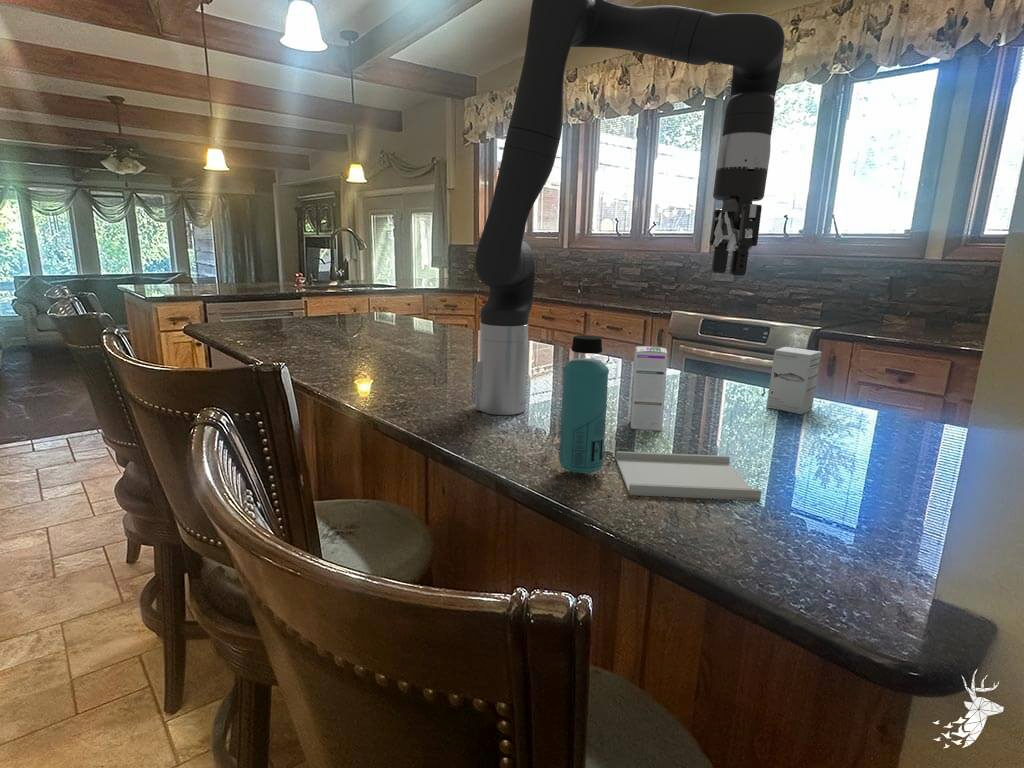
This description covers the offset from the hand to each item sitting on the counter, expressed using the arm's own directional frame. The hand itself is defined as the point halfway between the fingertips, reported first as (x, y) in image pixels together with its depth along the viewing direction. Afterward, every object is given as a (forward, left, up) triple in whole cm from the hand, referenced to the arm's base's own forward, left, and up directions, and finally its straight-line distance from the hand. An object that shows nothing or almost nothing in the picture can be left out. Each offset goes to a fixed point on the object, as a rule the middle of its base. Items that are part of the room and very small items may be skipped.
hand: (727, 273), depth 92 cm
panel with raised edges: (-4, -20, -28) cm, 35 cm away
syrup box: (-11, +4, -29) cm, 31 cm away
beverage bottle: (-18, -24, -28) cm, 41 cm away
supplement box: (+17, +29, -29) cm, 44 cm away
